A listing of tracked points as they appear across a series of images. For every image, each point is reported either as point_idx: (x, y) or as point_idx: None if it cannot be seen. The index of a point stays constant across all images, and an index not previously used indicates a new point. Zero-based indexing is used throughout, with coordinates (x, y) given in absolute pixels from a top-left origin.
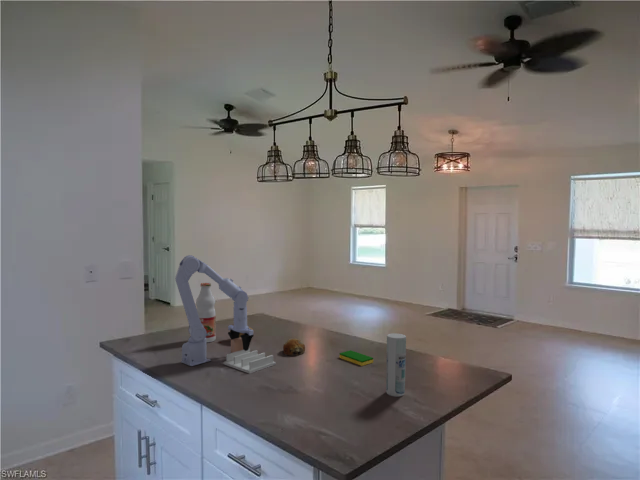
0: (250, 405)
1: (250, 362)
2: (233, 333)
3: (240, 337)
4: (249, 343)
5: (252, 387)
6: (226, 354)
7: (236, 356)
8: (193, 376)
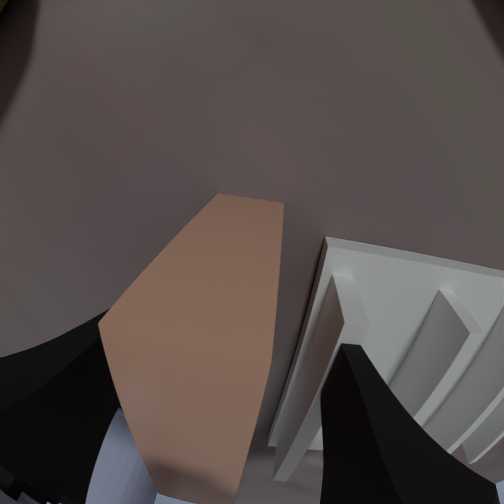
0: (488, 476)
1: (473, 461)
2: (68, 493)
3: (138, 430)
4: (391, 402)
5: (485, 456)
6: (275, 479)
7: None
8: (269, 499)
